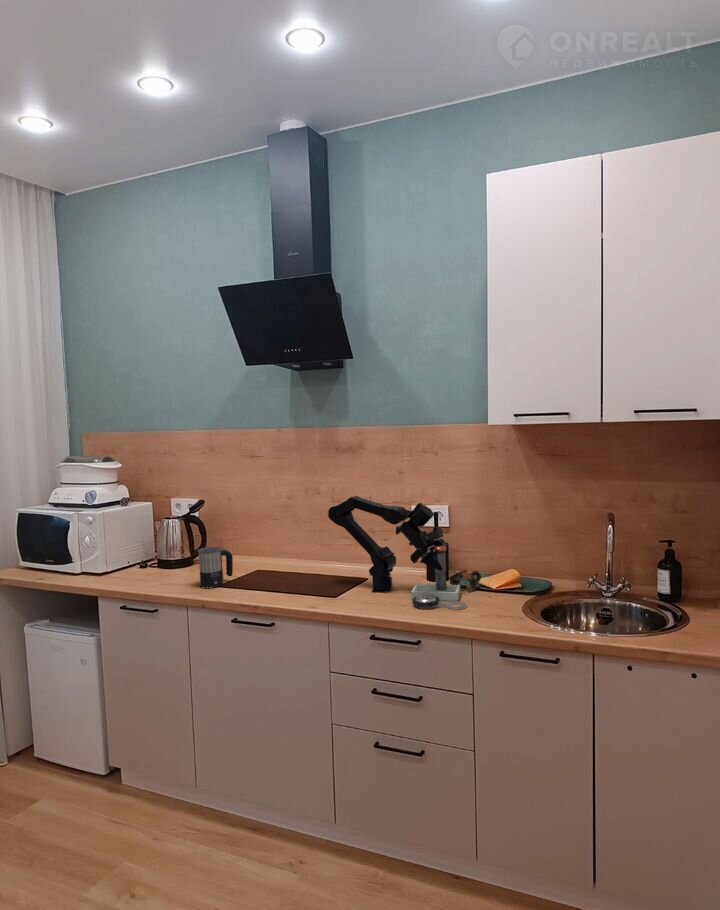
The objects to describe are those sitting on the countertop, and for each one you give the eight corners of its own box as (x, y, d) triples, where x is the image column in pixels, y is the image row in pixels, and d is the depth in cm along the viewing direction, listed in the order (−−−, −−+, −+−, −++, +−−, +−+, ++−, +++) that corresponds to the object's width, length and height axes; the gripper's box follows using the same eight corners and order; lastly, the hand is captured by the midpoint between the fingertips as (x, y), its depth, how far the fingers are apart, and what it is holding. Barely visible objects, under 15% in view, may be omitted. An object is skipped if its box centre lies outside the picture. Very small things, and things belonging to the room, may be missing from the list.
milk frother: (209, 590, 258) (207, 552, 257) (184, 585, 267) (181, 548, 266) (237, 581, 269) (235, 545, 268) (211, 577, 278) (209, 542, 278)
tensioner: (411, 609, 222) (411, 599, 221) (415, 601, 230) (415, 592, 230) (465, 610, 217) (464, 601, 217) (467, 603, 226) (466, 593, 225)
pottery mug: (463, 595, 236) (452, 574, 239) (453, 601, 245) (442, 580, 247) (490, 582, 241) (479, 562, 243) (479, 588, 250) (468, 568, 252)
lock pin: (435, 591, 232) (434, 548, 231) (434, 588, 236) (432, 545, 235) (448, 590, 232) (447, 547, 231) (446, 587, 236) (445, 545, 235)
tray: (411, 600, 232) (411, 591, 232) (416, 592, 242) (415, 584, 241) (457, 601, 228) (457, 592, 228) (460, 593, 238) (460, 585, 238)
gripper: (417, 524, 227) (448, 559, 222) (439, 516, 243) (469, 548, 238) (397, 546, 231) (427, 580, 226) (420, 536, 247) (449, 568, 242)
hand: (444, 568), depth 233 cm, fingers closed on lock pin, 4 cm apart
